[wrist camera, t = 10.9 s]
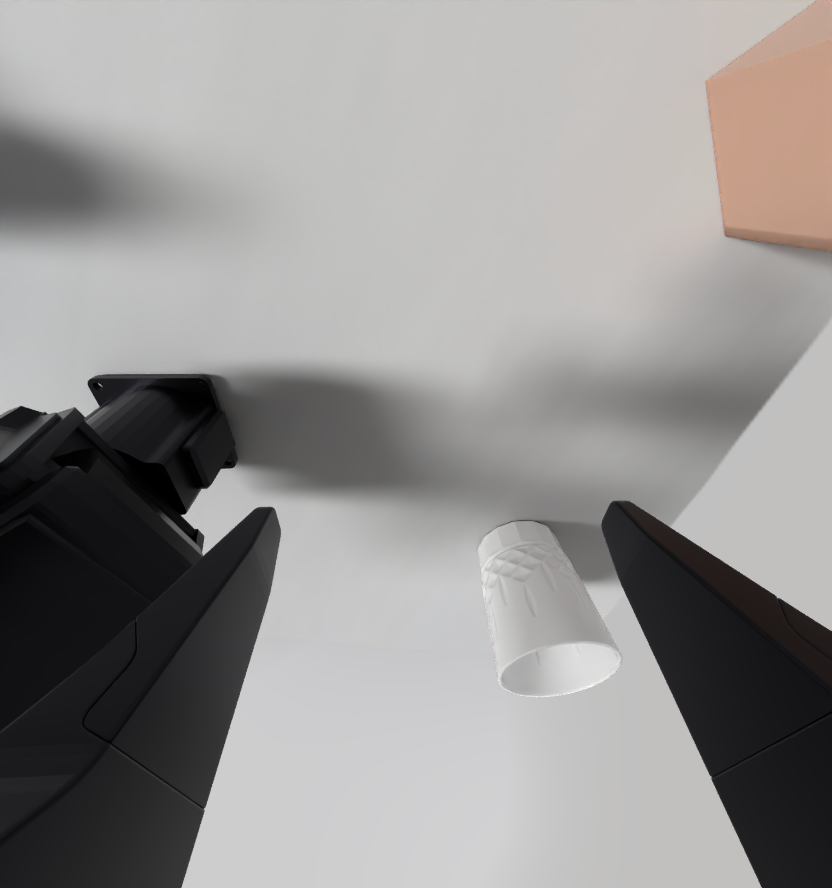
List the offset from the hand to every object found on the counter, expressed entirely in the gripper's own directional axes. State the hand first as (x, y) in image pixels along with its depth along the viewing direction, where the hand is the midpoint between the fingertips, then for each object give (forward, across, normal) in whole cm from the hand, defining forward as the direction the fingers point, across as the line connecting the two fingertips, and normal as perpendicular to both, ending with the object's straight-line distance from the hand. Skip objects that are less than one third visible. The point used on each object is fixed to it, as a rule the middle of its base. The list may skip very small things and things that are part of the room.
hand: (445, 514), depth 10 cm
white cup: (+13, -9, +18) cm, 24 cm away
